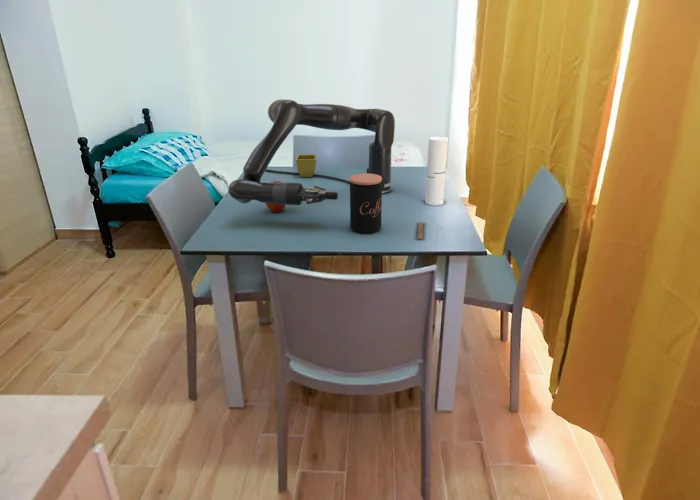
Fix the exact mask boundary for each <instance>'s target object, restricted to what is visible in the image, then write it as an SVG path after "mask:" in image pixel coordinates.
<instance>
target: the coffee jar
mask: <svg viewBox="0 0 700 500" xmlns="http://www.w3.org/2000/svg"><path fill="white" fill-rule="evenodd" d="M349 181H350V182H351V184H349V210H350V211H349V212H350V213H349V220H350V221H349V223H350V225H349V226H350V228H351V229H352V231H353V232H354V233H358V234H363V235H364V234H366V235H368V234H374V233H377V232H379V230H380V229H381V227H382V207H383V204H382V203H383V202H382V201H383V200H382V199H383V193H382V185H381V183H380V182H381V181H382V177H381V176H379V175H376V174H369V173H367V172H364V173H356V174H353V175H351V176H350V177H349Z"/></svg>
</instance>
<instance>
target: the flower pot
mask: <svg viewBox="0 0 700 500" xmlns="http://www.w3.org/2000/svg"><path fill="white" fill-rule="evenodd" d="M295 162H296V163H295V164H296V169H297V173H299V174H300V175H299V176H300V177H301V178H312V177H314V176H313V174H315V170H316V167H317V154H297V156H296V158H295Z"/></svg>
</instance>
